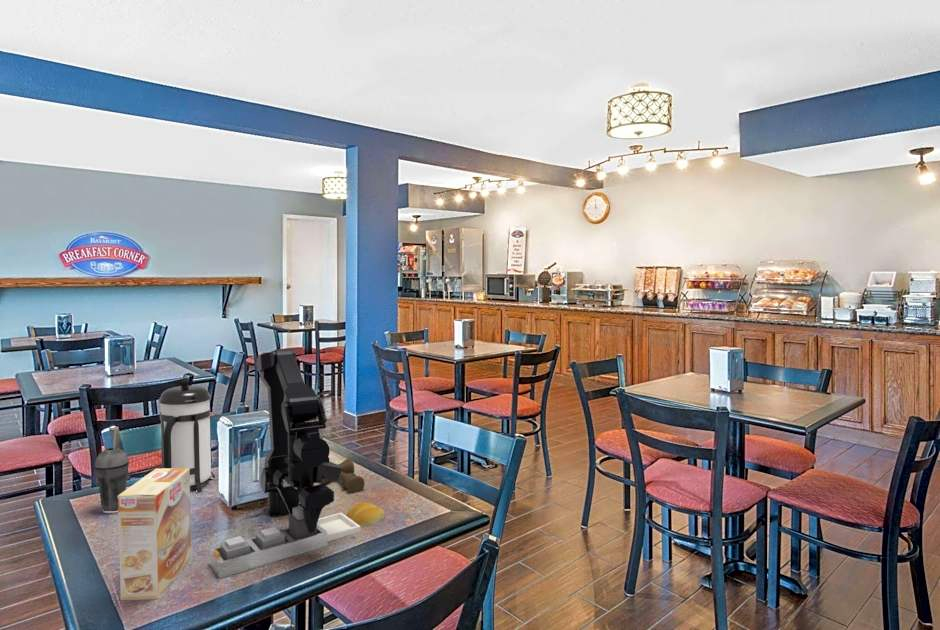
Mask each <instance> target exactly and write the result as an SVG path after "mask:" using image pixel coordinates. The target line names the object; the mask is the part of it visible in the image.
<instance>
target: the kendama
mask: <svg viewBox="0 0 940 630" xmlns="http://www.w3.org/2000/svg"><path fill="white" fill-rule="evenodd" d="M337 465H339V466H341V467H342V468H343V469H342V472H341V475H340V478H339V480H341V482H340V483H341V486H342V487H343V488H344V489H346V491H347V493H348V494H355V493H359V492H362V491H363V490H364V488H365V479H364V478H363V477H362V476H360V475H356V473H355V464H354V462H353V460H352V459H351V458H347V459H345V460H344V461H343V462H341V463H339V464H338V463H337ZM327 482H329V480H325V479H322V482H320V483H319V484H324V485H326V483H327Z"/></svg>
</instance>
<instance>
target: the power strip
mask: <svg viewBox="0 0 940 630" xmlns="http://www.w3.org/2000/svg"><path fill="white" fill-rule="evenodd" d="M278 530H279V529H278ZM279 531H280V532H281V533H282V534H283V535H284V536H285V543H284V544H281V545H277V546H274V547H270V548H267V549H263V550H260V549H259V548H258V547H257V546H256V536H254V537H250V538H248V539H245V540H246V541H247V543H248V544H249V545H250V553H249V554H246V555H242V556H239V557H235V558H232V559H228V560H225V561H224V560H223V559H222V558H221V551H220V546H217V547H214V548H210V549H208V553H209V554H208V557H209V559H208V560H209V561H208V562H209V566H210V568H212V571H213V572H214V573H215V575H216V576H217V578H218V579H224V578H227V577H230V576H235V575H237V574H241V573H244V572H247V571H250V570H252V569H254V568H255V569H256V568H258V567H262V566H266V565H268V564H271V563H274V562H279V561H282V560H284V559H288V558H291V557H294V556H297V555H301V554H304V553H307V552H310V551H314V550H317V549H320V548H324V547H327V546H328V544H329V543H328V542H329V541H328V538H327V531H325V530H324V529H323V528H322V527H321V526H319V525H318V524H317V534H315V535H312V536H308V537H305V538H301V539H298V540H294V539H293V538H292V537H291V536H290V535H289V527H287V528H284V529H280V530H279Z"/></svg>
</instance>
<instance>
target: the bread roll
mask: <svg viewBox="0 0 940 630" xmlns="http://www.w3.org/2000/svg"><path fill="white" fill-rule="evenodd" d="M346 516H347V517H348V518H350V519H351V520H353V521H354V522H355V523H357V524H358V525H360V526H361V527H370V526H375V525H378V524H380V523H381V522H383V521H384V519H385V511H384V510H383V509H382V508H380V507H377V506H376V505H375V504H373V503H372V502H368V501H362V502H359V503H356V504H354V505H353V506H352V507H351V508H350V509H349V510H348V512H347V514H346Z"/></svg>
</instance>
